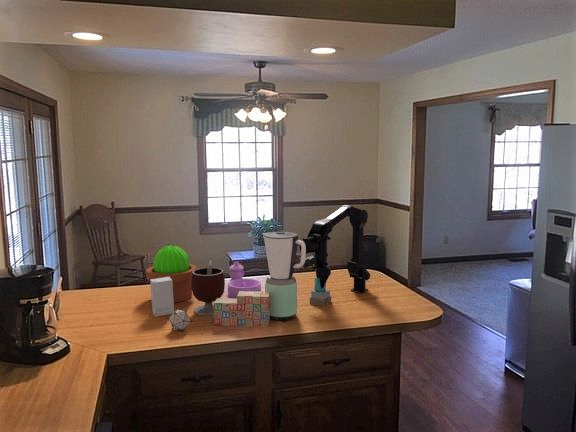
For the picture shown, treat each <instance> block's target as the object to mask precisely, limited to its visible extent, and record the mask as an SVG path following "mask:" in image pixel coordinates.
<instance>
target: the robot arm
mask: <svg viewBox="0 0 576 432" xmlns="http://www.w3.org/2000/svg"><path fill="white" fill-rule="evenodd" d="M347 217H349V218H348V219H349V223H350V224H351V225H350V226H351V227H352V241H351V242H352V244H351V245H352V246H351V247H352V248H351V249H352V252H351V253H352V254H351V255H352V256H351V259H350V260H348V261H347V272H348V275H349V278H352V279H353V288H352V289H350V292H356V293H361V294H364V293H366V292H367V291H369V288H366V286H367V285H366V284H367V283H366V282H367V281H369V280H370V278H371V273H370V272H369V271H368V269H367V264H366V261H365V259H364V228H365V226H366V224H368V223H367V222H368V217H369V215H368V211H367V210H366V209H360V208H357V207H355V206H353V205H351V204H350V205H349V204H343V205H342V206H340V208H339V209H337V210H335V211H334V212H333V213H331V214H329V216H327V217H326V218H323V219H319V220H316V221H314V222H313V224H312V225H311V228H310V230H309V232H308V234H307V237H303V238H302V241H303V242H304V243H305V245H306V255H308V254H312V255H310V256H306V260H305V263H304V265H303V266H302V267H303V269H308V267H312V269H313V270H314V271H315V276H316V277H315V278H319V281H320V287H321V288H324V286H325V283H326V284H327V281H328V279H329V277H330V276H331V275H332V269H331V268H330V266H329V263H328V257H329V253H328V241H330V240H331V237H330V236H329V234H331V233H332V232H333V228H334V227H335V226H337V224H339V223H340V222H341V221H343V220H344V219H346V218H347ZM298 247H299V250H300V252H301V245H299V244H298Z"/></svg>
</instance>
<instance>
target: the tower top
mask: <svg viewBox="0 0 576 432" xmlns="http://www.w3.org/2000/svg"><path fill="white" fill-rule="evenodd" d="M330 296H331V289H327V288H326V291H324V292H317V291H315V290H314V289H312V290H311V291H310V297H312V298H316V299H321V300H323V299H326V298H328V297H330Z"/></svg>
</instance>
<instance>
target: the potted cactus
mask: <svg viewBox="0 0 576 432" xmlns="http://www.w3.org/2000/svg"><path fill="white" fill-rule="evenodd" d="M189 259H190V258H189V255H188V253H187V251H185V250H184V249H183V248H182V247H180V246H178V245H177V244H166V245H164V246H163V247H161V248H160V249H158V251H157V252H156V254H155V255H154V259H153V262H152V266H151V267H148V268H147V269H146V270H145V274H146V276H145V277H146V280H147V281H150V279H157V278H163V277H170V278H171V279H172V284H173V301H174V303H179V302H184V301H186V300H189V299H191V297H192V296H193V292H192V287H191V279H192V272H193V271H194V270H196V269H198V268H197V265H195V264H192V263H190V261H189Z"/></svg>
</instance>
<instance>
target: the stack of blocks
mask: <svg viewBox="0 0 576 432" xmlns="http://www.w3.org/2000/svg"><path fill="white" fill-rule="evenodd" d="M213 304H214V315H213V316H214V317H213V318H214V322H213V323H214V326H227V327H228V326H231V327H256V328H257V327H260V328H261V327H262V328H268V327H269V326H270V322H271V319H270V292H265V291H261V292H258V291H255V292H246V291H239V293H238V295H237V299H232V298H228V297H227V298H226V297H225V298H223V297H221V298H217V299H216V301H214V302H213Z"/></svg>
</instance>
